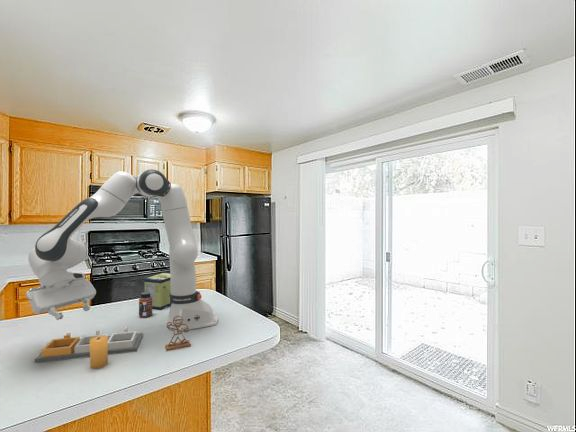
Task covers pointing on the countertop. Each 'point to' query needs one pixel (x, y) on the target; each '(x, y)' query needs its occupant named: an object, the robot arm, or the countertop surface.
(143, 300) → the supplement bottle
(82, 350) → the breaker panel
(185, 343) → the gingerbread man figurine
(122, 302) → the countertop surface
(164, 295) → the protein box
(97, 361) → the cap
